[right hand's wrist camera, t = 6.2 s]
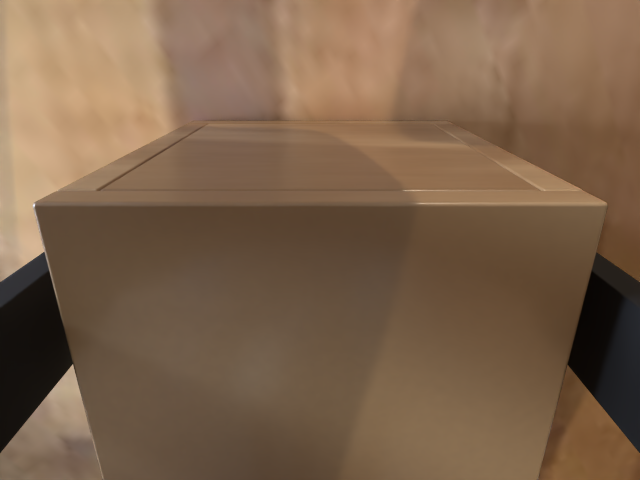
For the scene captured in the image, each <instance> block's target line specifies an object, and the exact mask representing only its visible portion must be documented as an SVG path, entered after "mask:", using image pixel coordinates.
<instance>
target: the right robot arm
mask: <svg viewBox="0 0 640 480" xmlns="http://www.w3.org/2000/svg"><path fill="white" fill-rule="evenodd" d="M72 364H73V361H72V357H71V353H70V350H69V346H68V342H67V338H66V334H65V330H64V326H63V322H62V318H61V314H60V310H59V306H58V303H57V299H56V295H55V291H54V287H53V283H52V279H51V275H50V271H49V267H48V263H47V259H46V256H45V252H43V253H42V254H40V255H39V256H38V257H36V258H35V259H33V260H32V261H30V262H29V263H28V264H26V265H25V266H23V267H22V268H20V269H19V270H17V271H16V272H15V273H13V274H12V275H10V276H9V277H7V278H6V279H4V280H3V281H2V282H0V453H1V451H2V450H3V449H4V448H5V447H6V445H7V444H8V443H9V442H10V440H11V439H12V438H13V437H14V435H15V434H16V433H17V432H18V431H19V429H20V428H21V427H22V426H23V424H24V423H25V422H26V421H27V420H28V418H29V417H30V416H31V415H32V413H33V412H34V411H35V410H36V408H37V407H38V406H39V405H40V404H41V402H42V401H43V400H44V399H45V397H46V396H47V395H48V394H49V393H50V391H51V390H52V389H53V388H54V386H55V385H56V384H57V383H58V381H59V380H60V379H61V378H62V377H63V375H64V374H65V373H66V372H67V370H68V369H69V368H70V367H71V366H72ZM568 366H569V367H570V368H571V369H572V370H573V372H574V373H575V374H576V375H577V377H578V378H579V379H580V380H581V381H582V383H583V384H584V385H585V386H586V388H587V389H588V390H589V391H590V393H591V394H592V395H593V396H594V397H595V399H596V400H597V401H598V402H599V404H600V405H601V406H602V407H603V408H604V410H605V411H606V412H607V413H608V415H609V416H610V417H611V418H612V420H613V421H614V422H615V423H616V424H617V426H618V427H619V428H620V429H621V431H622V432H623V433H624V434H625V435H626V437H627V438H628V439H629V440H630V442H631V443H632V444H633V445H634V447H635V448H636V449H637V450H638V451H639V453H640V282H638V281H637V280H636V279H634V278H633V277H631V276H630V275H628V274H627V273H625V272H624V271H623V270H621V269H620V268H618V267H617V266H615V265H614V264H612V263H611V262H610V261H608V260H607V259H605V258H604V257H602V256H601V255H600V254H598V253H597V252H596V255H595V259H594V263H593V267H592V271H591V274H590V278H589V282H588V286H587V290H586V294H585V298H584V302H583V306H582V310H581V313H580V317H579V321H578V325H577V329H576V333H575V337H574V341H573V345H572V349H571V352H570V356H569V360H568Z"/></svg>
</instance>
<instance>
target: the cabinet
mask: <svg viewBox="0 0 640 480" xmlns="http://www.w3.org/2000/svg"><path fill="white" fill-rule="evenodd" d="M607 208H608V204H607V202H605V201H603V200H601V199H599V198H597V197H595V196H593V195H591V194H589V193H587V192H585V191H583V190H582V189H580V188H578V187H576V186H574V185H572V184H570V183H568V182H566V181H564V180H563V179H561V178H559V177H557V176H555V175H553V174H551V173H549V172H547V171H545V170H543V169H541V168H539V167H537V166H535V165H533V164H531V163H529V162H527V161H525V160H523V159H521V158H519V157H518V156H516V155H514V154H512V153H510V152H508V151H506V150H504V149H502V148H500V147H498V146H496V145H494V144H492V143H490V142H488V141H486V140H484V139H482V138H480V137H478V136H476V135H474V134H472V133H471V132H469V131H467V130H465V129H463V128H461V127H459V126H457V125H455V124H453V123H451V122H449V121H191V122H190V123H188V124H186V125H184V126H182V127H180V128H178V129H176V130H174V131H172V132H170V133H168V134H166V135H164V136H162V137H160V138H158V139H156V140H155V141H153V142H151V143H149V144H147V145H145V146H143V147H141V148H139V149H137V150H135V151H133V152H131V153H129V154H127V155H125V156H123V157H121V158H119V159H118V160H116V161H114V162H112V163H110V164H108V165H106V166H104V167H102V168H100V169H98V170H96V171H94V172H92V173H90V174H88V175H86V176H84V177H82V178H80V179H79V180H77V181H75V182H73V183H71V184H69V185H67V186H65V187H63V188H61V189H59V190H58V191H56V192H54V193H52V194H50V195H48V196H46V197H44V198H42V199H40V200H38V201H36V202H34V204H33V209H34V212H35V216H36V220H37V224H38V228H39V232H40V236H41V240H42V244H43V248H44V252H45V256H46V259H47V263H48V267H49V271H50V275H51V279H52V283H53V287H54V291H55V295H56V299H57V303H58V306H59V310H60V314H61V318H62V322H63V326H64V330H65V334H66V338H67V342H68V346H69V350H70V353H71V357H72V361H73V365H74V369H75V373H76V377H77V381H78V385H79V389H80V393H81V396H82V400H83V404H84V408H85V412H86V416H87V420H88V424H89V428H90V432H91V436H92V440H93V443H94V447H95V451H96V455H97V459H98V463H99V467H100V471H101V475H102V479H103V480H538V477H539V474H540V470H541V466H542V462H543V458H544V454H545V450H546V446H547V442H548V438H549V434H550V431H551V427H552V423H553V419H554V415H555V411H556V407H557V403H558V399H559V395H560V392H561V388H562V384H563V380H564V376H565V372H566V368H567V364H568V360H569V356H570V352H571V349H572V345H573V341H574V337H575V333H576V329H577V325H578V321H579V317H580V313H581V310H582V306H583V302H584V298H585V294H586V290H587V286H588V282H589V278H590V274H591V271H592V267H593V263H594V259H595V255H596V251H597V247H598V243H599V239H600V235H601V231H602V228H603V224H604V220H605V216H606V212H607Z"/></svg>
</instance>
